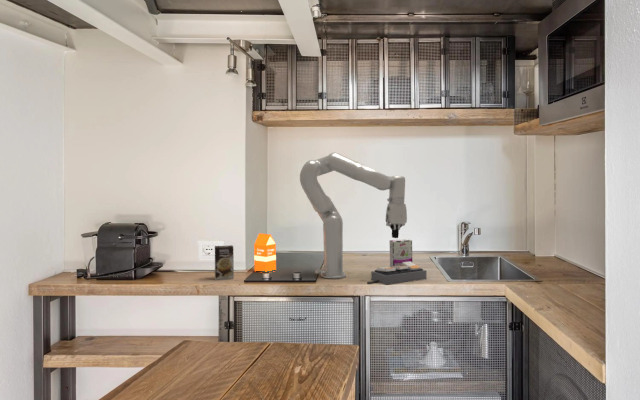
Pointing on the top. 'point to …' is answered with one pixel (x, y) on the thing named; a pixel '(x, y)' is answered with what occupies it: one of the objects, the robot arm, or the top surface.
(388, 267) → the rocker left
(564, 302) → the top surface
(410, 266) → the rocker right
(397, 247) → the candy bar box
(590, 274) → the top surface
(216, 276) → the coffee box
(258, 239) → the orange juice
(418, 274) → the power strip
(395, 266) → the rocker middle
